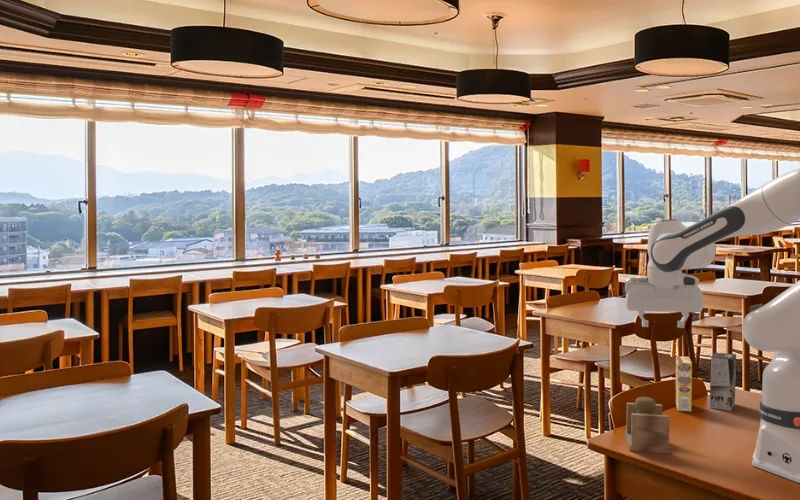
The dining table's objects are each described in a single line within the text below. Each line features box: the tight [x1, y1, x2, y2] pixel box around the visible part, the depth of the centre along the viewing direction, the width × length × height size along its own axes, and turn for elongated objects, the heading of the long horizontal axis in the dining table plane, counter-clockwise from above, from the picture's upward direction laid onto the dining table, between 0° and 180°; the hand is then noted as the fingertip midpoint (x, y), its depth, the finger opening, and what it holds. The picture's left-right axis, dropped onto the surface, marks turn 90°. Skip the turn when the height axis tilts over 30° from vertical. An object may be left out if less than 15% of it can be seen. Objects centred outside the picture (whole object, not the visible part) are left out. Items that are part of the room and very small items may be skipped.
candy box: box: [675, 355, 693, 413], centre depth 209 cm, size 9×4×15 cm, turn 162°
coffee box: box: [709, 352, 737, 412], centre depth 210 cm, size 9×6×16 cm
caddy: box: [623, 402, 672, 454], centre depth 177 cm, size 10×11×10 cm
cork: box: [634, 396, 657, 414], centre depth 177 cm, size 6×6×11 cm
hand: (662, 327), depth 187 cm, fingers open, 8 cm apart
